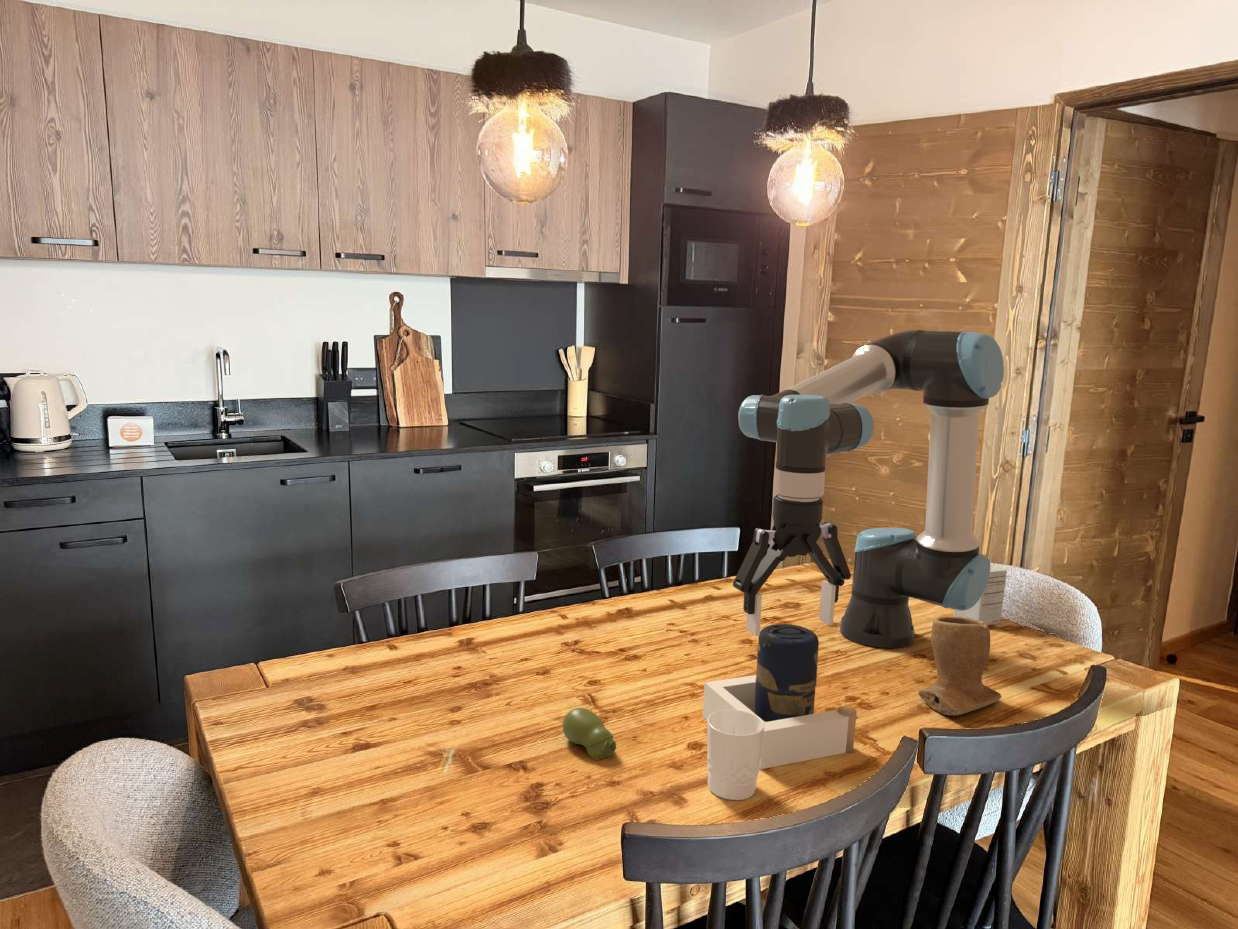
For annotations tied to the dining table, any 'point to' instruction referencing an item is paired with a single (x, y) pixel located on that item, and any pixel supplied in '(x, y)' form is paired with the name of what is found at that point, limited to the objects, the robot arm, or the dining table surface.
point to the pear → (589, 733)
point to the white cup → (733, 753)
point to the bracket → (785, 725)
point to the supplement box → (988, 599)
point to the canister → (786, 672)
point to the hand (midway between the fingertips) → (790, 627)
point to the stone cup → (959, 666)
